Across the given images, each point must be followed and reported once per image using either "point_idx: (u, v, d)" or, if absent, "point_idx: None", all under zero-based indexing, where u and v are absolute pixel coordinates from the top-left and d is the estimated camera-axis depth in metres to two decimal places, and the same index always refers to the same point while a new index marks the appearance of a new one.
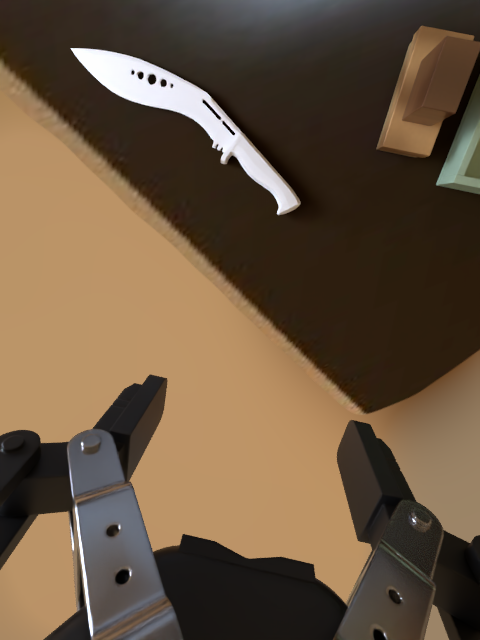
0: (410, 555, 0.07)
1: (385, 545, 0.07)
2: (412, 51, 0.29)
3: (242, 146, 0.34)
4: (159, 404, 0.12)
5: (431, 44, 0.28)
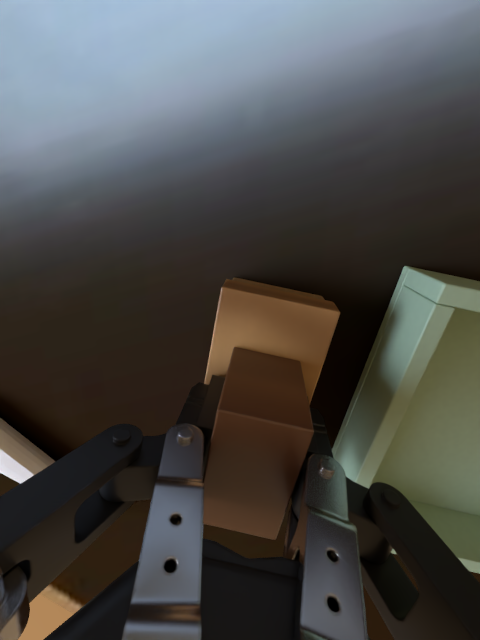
0: (329, 505, 0.08)
1: (312, 509, 0.08)
2: None
3: None
4: None
5: (249, 321, 0.13)
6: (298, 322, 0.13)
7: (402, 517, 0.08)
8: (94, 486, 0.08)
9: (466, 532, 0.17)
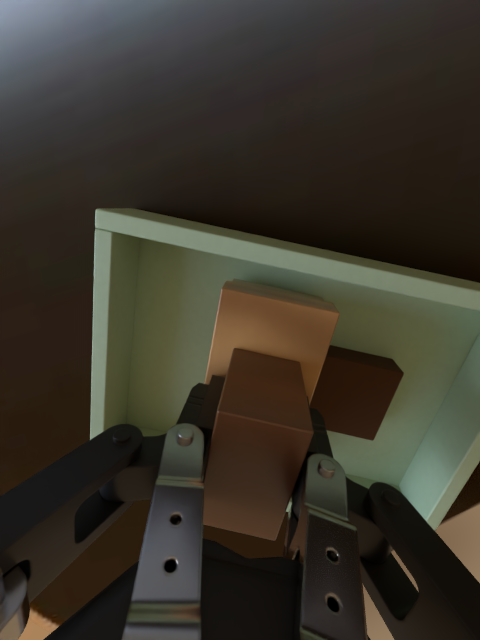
0: (329, 506, 0.08)
1: (312, 509, 0.08)
2: None
3: None
4: None
5: (249, 322, 0.13)
6: (298, 323, 0.13)
7: (402, 517, 0.08)
8: (94, 486, 0.08)
9: None
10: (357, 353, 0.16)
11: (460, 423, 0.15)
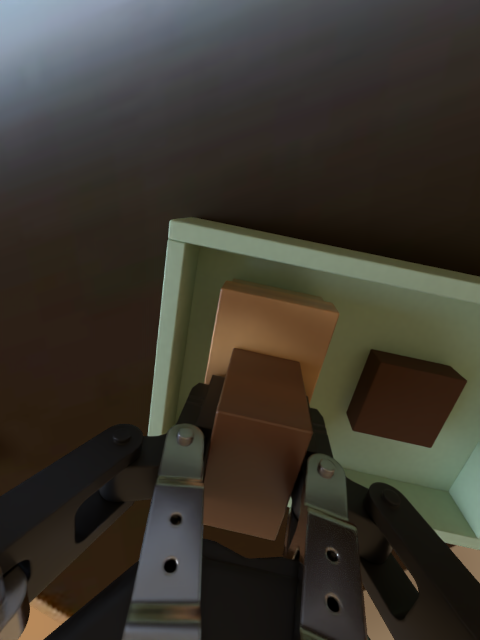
0: (329, 506, 0.08)
1: (312, 509, 0.08)
2: (214, 327, 0.13)
3: None
4: None
5: (249, 322, 0.13)
6: (298, 323, 0.13)
7: (402, 517, 0.08)
8: (94, 486, 0.08)
9: None
10: (415, 360, 0.16)
11: None
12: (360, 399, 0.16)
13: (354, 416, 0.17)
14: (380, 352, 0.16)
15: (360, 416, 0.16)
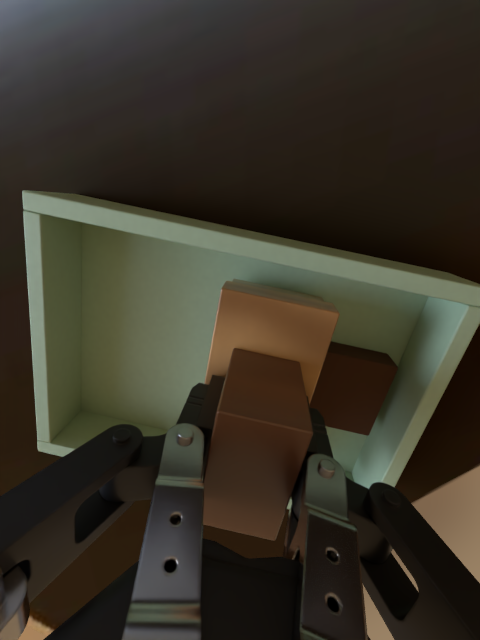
0: (329, 506, 0.08)
1: (312, 509, 0.08)
2: None
3: None
4: None
5: (249, 322, 0.13)
6: (298, 324, 0.13)
7: (402, 517, 0.08)
8: (94, 486, 0.08)
9: None
10: (352, 347, 0.16)
11: (400, 406, 0.15)
12: None
13: None
14: None
15: None
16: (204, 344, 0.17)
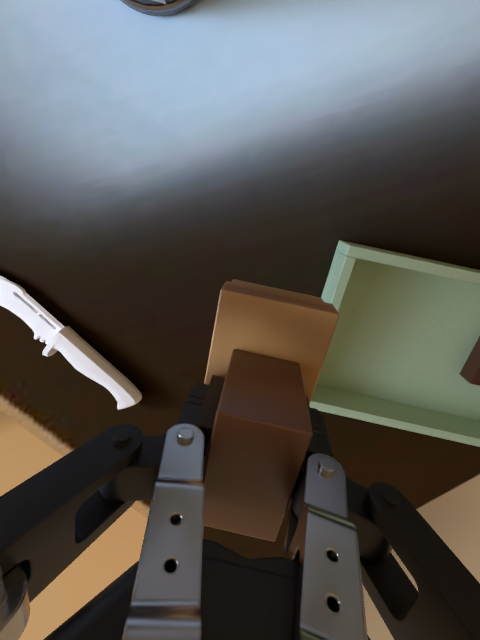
0: (328, 505, 0.08)
1: (312, 509, 0.08)
2: (214, 328, 0.13)
3: (63, 343, 0.29)
4: None
5: (249, 323, 0.13)
6: (298, 324, 0.13)
7: (402, 517, 0.08)
8: (94, 486, 0.08)
9: (383, 407, 0.28)
10: None
11: None
12: (475, 363, 0.26)
13: (470, 374, 0.26)
14: None
15: (477, 373, 0.25)
16: (407, 336, 0.27)
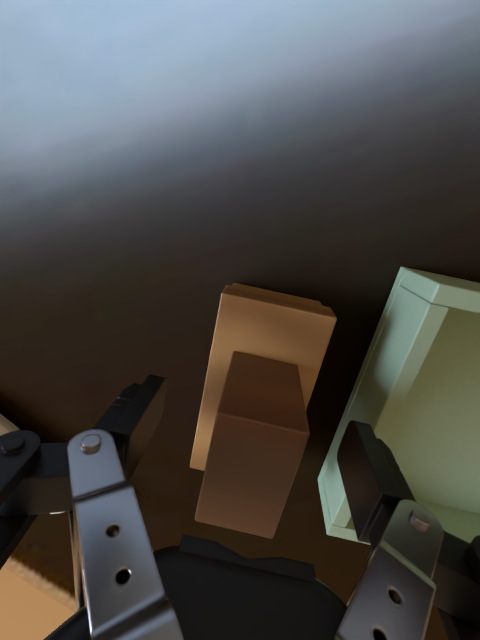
0: (410, 555, 0.07)
1: (385, 545, 0.07)
2: None
3: None
4: (159, 404, 0.12)
5: (248, 326, 0.13)
6: (296, 328, 0.13)
7: None
8: None
9: (462, 529, 0.17)
10: None
11: None
12: None
13: None
14: None
15: None
16: None
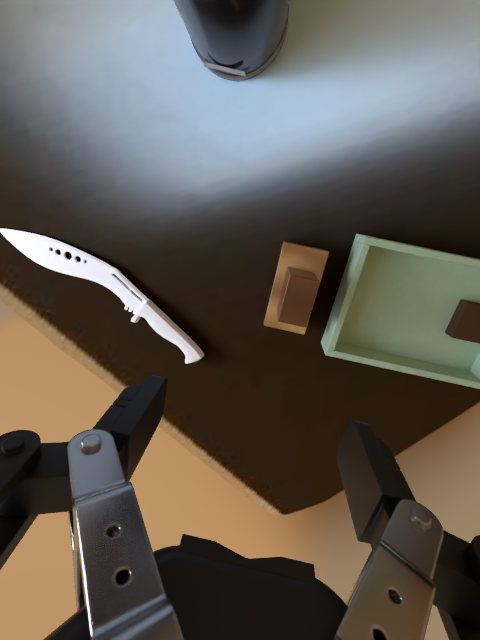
0: (410, 555, 0.07)
1: (385, 545, 0.07)
2: (279, 258, 0.34)
3: (148, 312, 0.39)
4: (159, 404, 0.12)
5: (294, 255, 0.33)
6: (313, 256, 0.33)
7: None
8: None
9: (388, 357, 0.37)
10: None
11: None
12: (455, 322, 0.35)
13: (452, 331, 0.36)
14: (465, 300, 0.35)
15: (456, 329, 0.35)
16: (406, 303, 0.36)
